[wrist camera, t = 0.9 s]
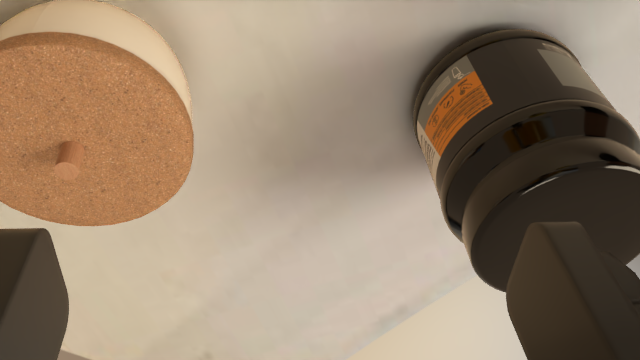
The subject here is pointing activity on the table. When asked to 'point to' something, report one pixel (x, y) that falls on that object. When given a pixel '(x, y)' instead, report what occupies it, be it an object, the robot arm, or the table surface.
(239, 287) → the table surface
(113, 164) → the trinket box
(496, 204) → the supplement container
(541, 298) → the robot arm
